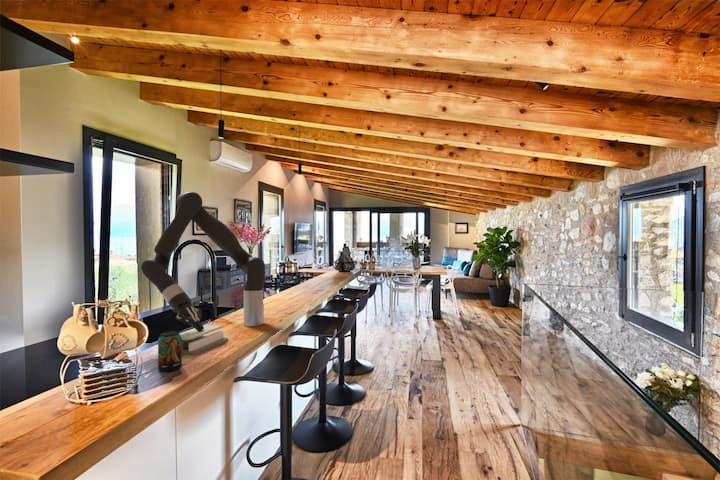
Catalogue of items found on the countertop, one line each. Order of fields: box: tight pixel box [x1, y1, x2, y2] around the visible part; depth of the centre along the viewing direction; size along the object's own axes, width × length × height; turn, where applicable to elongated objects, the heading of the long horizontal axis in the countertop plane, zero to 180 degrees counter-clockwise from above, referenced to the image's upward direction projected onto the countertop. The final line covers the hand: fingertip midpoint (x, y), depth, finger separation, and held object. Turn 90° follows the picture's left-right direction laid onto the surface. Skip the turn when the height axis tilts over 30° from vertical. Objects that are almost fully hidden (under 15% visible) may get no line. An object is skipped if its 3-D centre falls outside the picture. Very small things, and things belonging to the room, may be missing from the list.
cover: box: [179, 325, 224, 340], centre depth 152 cm, size 19×12×1 cm, turn 163°
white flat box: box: [182, 330, 229, 356], centre depth 152 cm, size 20×16×4 cm
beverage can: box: [157, 330, 183, 373], centre depth 126 cm, size 7×7×12 cm
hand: (201, 330), depth 151 cm, fingers closed
